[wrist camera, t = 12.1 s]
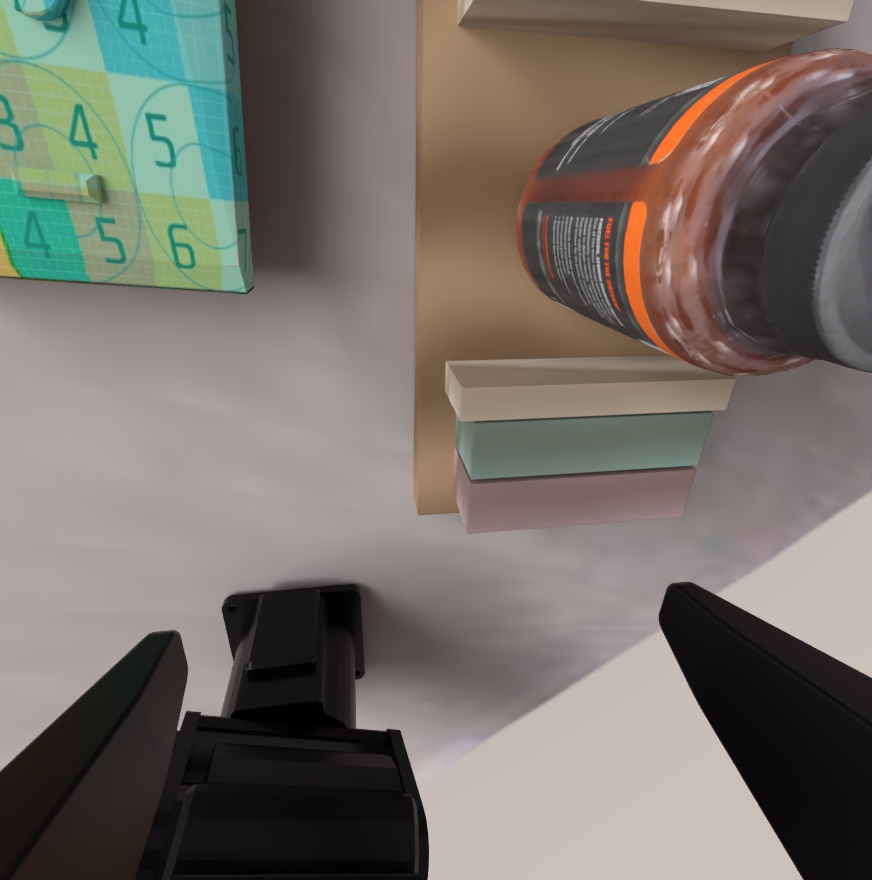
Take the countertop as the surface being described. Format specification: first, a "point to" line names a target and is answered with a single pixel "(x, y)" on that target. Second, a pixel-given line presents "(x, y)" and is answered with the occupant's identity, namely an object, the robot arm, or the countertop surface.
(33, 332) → the countertop surface
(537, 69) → the book rack
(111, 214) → the puzzle game
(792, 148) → the supplement bottle
